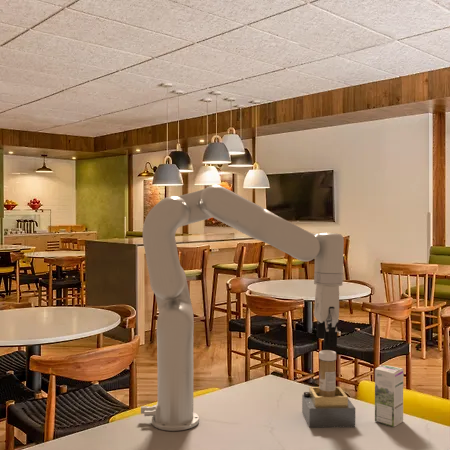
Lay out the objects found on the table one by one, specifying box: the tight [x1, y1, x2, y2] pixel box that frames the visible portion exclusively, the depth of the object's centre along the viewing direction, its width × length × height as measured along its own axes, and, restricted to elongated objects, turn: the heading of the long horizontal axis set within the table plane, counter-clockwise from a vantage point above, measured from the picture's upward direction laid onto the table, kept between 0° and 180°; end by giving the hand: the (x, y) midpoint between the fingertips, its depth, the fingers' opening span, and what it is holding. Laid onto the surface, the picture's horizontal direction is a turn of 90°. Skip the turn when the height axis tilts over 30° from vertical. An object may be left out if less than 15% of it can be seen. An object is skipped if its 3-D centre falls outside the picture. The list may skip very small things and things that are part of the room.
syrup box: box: [374, 364, 404, 428], centre depth 146 cm, size 6×6×14 cm
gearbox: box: [301, 386, 356, 429], centre depth 148 cm, size 12×11×8 cm
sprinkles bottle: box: [318, 349, 337, 396], centre depth 148 cm, size 5×5×14 cm
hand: (326, 342), depth 148 cm, fingers open, 9 cm apart
